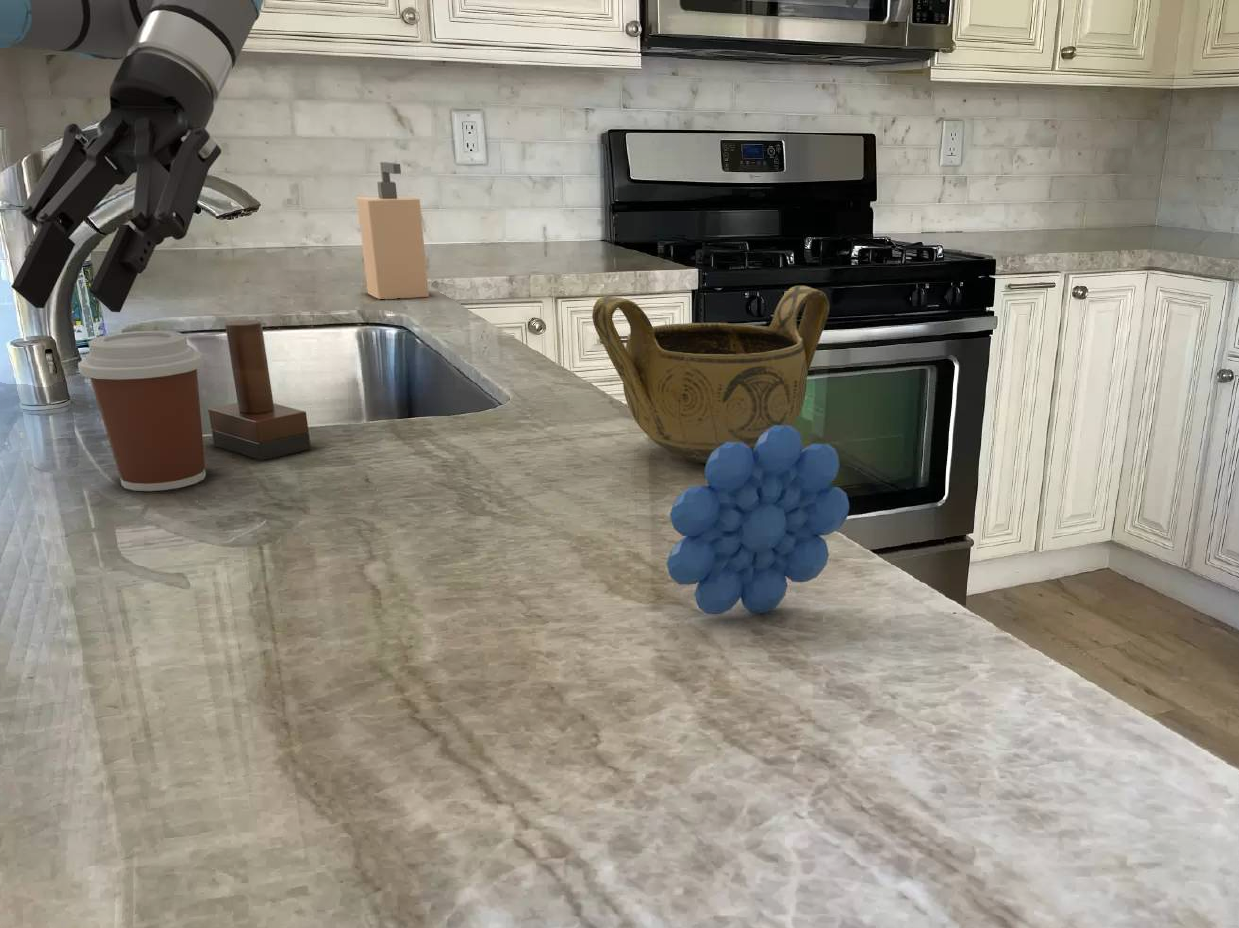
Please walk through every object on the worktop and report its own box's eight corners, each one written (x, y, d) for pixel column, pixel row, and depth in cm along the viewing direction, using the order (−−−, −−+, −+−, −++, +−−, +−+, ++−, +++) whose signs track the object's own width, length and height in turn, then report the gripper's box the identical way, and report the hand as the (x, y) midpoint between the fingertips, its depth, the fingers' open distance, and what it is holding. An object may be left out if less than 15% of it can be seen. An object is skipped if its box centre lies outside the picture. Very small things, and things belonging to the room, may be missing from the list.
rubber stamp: (213, 446, 106) (192, 321, 101) (263, 435, 109) (244, 314, 105) (261, 460, 101) (241, 331, 97) (311, 449, 105) (294, 323, 101)
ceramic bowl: (645, 497, 92) (640, 312, 87) (567, 448, 106) (558, 285, 100) (866, 460, 103) (873, 293, 98) (769, 420, 117) (771, 271, 111)
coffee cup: (132, 465, 100) (105, 328, 95) (238, 463, 100) (216, 328, 96) (82, 496, 91) (50, 348, 87) (199, 495, 92) (172, 347, 87)
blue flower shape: (820, 577, 76) (825, 403, 72) (859, 616, 70) (868, 429, 66) (652, 597, 73) (647, 415, 69) (678, 639, 67) (675, 444, 63)
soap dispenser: (367, 293, 199) (352, 161, 191) (416, 290, 203) (403, 161, 195) (384, 303, 189) (369, 164, 181) (435, 299, 193) (423, 163, 185)
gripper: (292, 117, 99) (201, 333, 91) (103, 114, 103) (-2, 322, 94) (245, 47, 93) (141, 274, 84) (45, 47, 97) (-75, 264, 88)
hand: (65, 299), depth 89 cm, fingers open, 6 cm apart
